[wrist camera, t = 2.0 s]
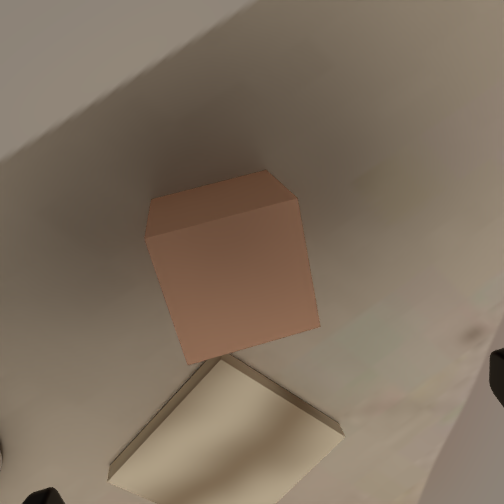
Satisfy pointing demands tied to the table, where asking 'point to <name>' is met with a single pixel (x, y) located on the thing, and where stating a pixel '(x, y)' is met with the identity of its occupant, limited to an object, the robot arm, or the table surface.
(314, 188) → the table surface
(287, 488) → the coaster
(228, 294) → the cube
